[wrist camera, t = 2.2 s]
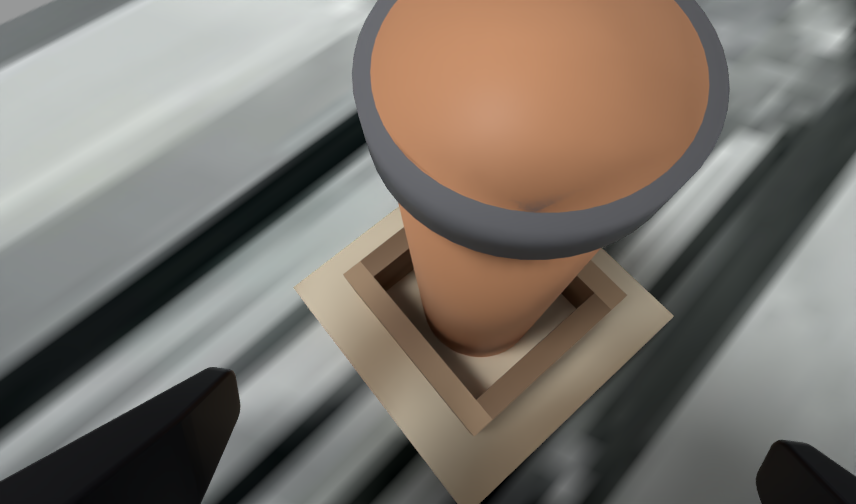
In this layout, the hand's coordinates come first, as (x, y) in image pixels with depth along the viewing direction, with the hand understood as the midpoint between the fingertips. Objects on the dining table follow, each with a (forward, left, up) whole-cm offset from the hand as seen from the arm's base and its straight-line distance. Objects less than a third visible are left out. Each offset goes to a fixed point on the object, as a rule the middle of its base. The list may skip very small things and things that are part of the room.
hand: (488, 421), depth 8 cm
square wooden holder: (+3, -3, -12) cm, 13 cm away
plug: (+3, -3, -10) cm, 11 cm away
